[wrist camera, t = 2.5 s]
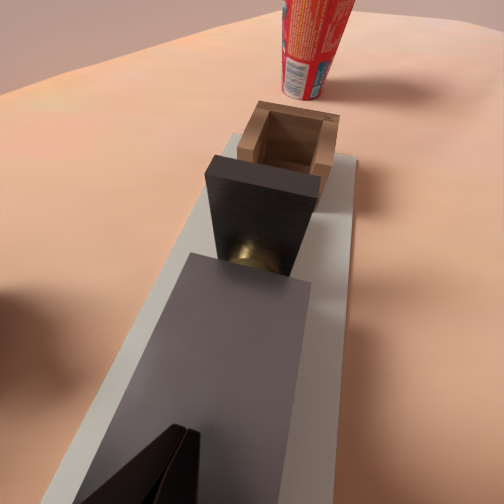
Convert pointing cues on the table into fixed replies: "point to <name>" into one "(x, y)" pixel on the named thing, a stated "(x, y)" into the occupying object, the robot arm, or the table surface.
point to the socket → (291, 140)
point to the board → (312, 353)
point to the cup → (310, 43)
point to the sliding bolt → (259, 212)
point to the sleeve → (216, 380)
